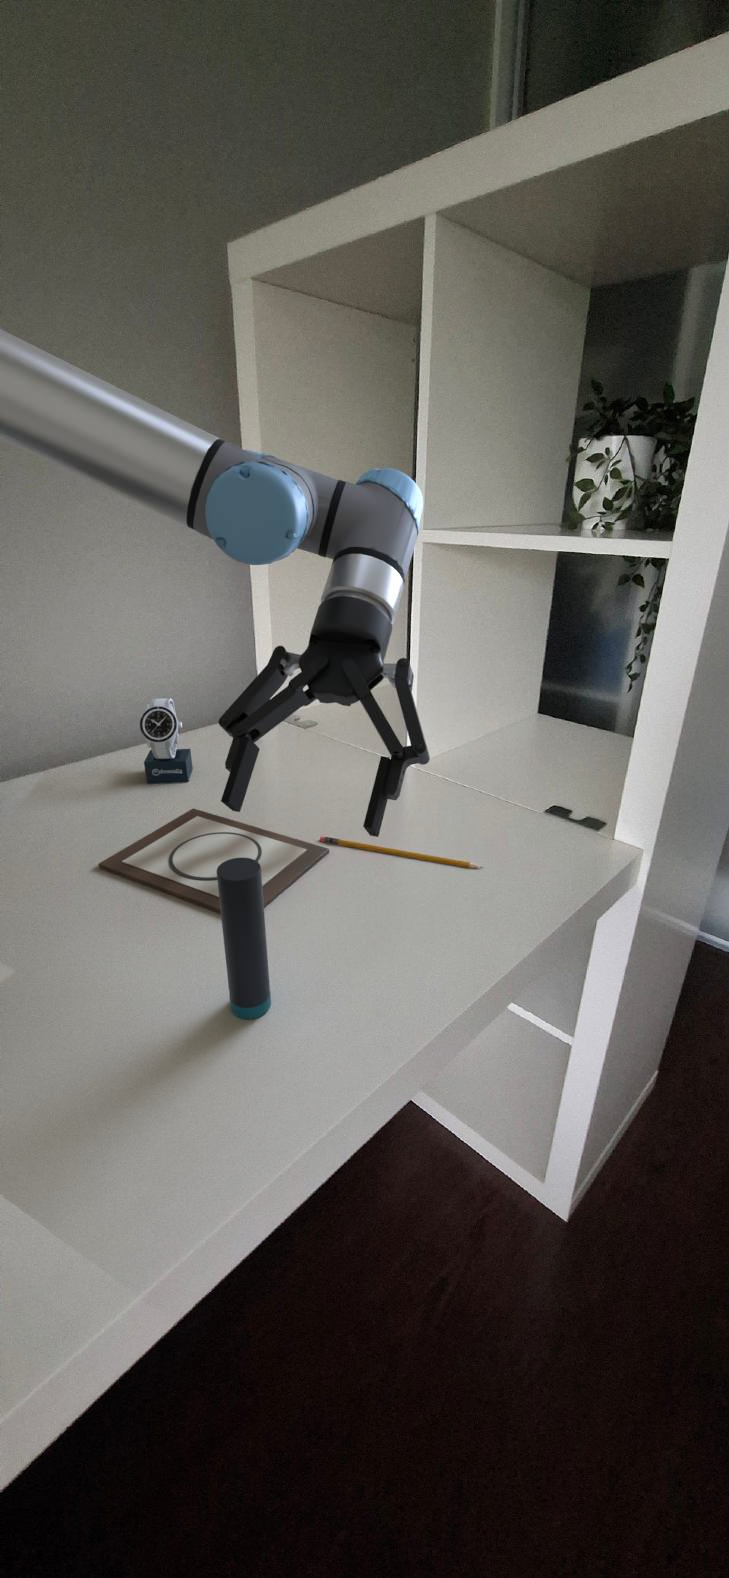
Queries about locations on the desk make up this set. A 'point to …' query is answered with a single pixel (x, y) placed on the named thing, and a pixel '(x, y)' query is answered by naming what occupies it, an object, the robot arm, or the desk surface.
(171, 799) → the desk surface
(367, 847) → the pencil
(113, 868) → the sketch board
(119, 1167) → the desk surface
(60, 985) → the desk surface
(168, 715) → the watch
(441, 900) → the desk surface
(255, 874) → the marker
